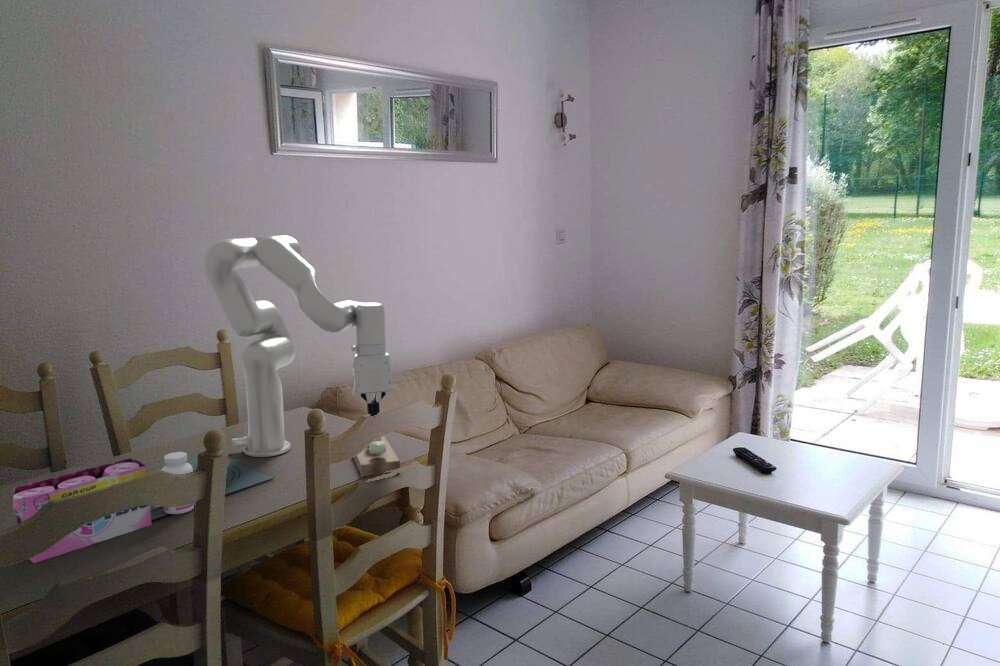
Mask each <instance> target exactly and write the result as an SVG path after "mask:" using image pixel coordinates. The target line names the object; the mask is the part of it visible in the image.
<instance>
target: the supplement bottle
mask: <svg viewBox="0 0 1000 666" xmlns="http://www.w3.org/2000/svg"><path fill="white" fill-rule="evenodd" d="M187 461H188V453H187V452H184V451H175V452H170V453H168V454H165V455H164V457H163V462H164V464H165V465H164V466H163V467H162V468H161V470H160V472H161V471H165V472H169V473H172V474H186V473H190V472H193V473H194V467H193V465H191V464H190V463H189V462H187ZM162 509H163V512H165V513H166V514H168V515H181V514H185V513H188V512H191V511H192V510H193V509H195V507H194V503H191V504H187V505H183V506H178V507H163V506H162Z"/></svg>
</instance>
